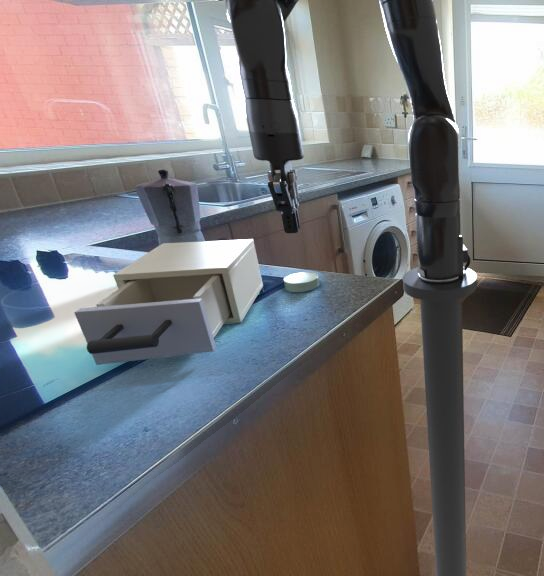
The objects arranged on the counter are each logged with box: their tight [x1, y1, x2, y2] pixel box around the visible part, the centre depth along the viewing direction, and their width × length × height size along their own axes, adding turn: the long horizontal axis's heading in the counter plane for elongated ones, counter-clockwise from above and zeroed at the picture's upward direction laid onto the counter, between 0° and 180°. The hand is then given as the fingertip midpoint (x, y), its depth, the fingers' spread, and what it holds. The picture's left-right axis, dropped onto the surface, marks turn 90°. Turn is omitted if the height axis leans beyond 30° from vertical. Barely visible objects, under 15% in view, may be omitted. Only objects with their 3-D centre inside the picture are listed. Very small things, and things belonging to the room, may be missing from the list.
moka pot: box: [133, 169, 206, 246], centre depth 81 cm, size 10×15×20 cm, turn 44°
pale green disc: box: [283, 271, 321, 293], centre depth 78 cm, size 6×6×2 cm
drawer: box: [73, 273, 232, 366], centre depth 55 cm, size 20×13×7 cm, turn 18°
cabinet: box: [112, 238, 264, 325], centre depth 68 cm, size 16×14×9 cm
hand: (292, 230), depth 75 cm, fingers closed
